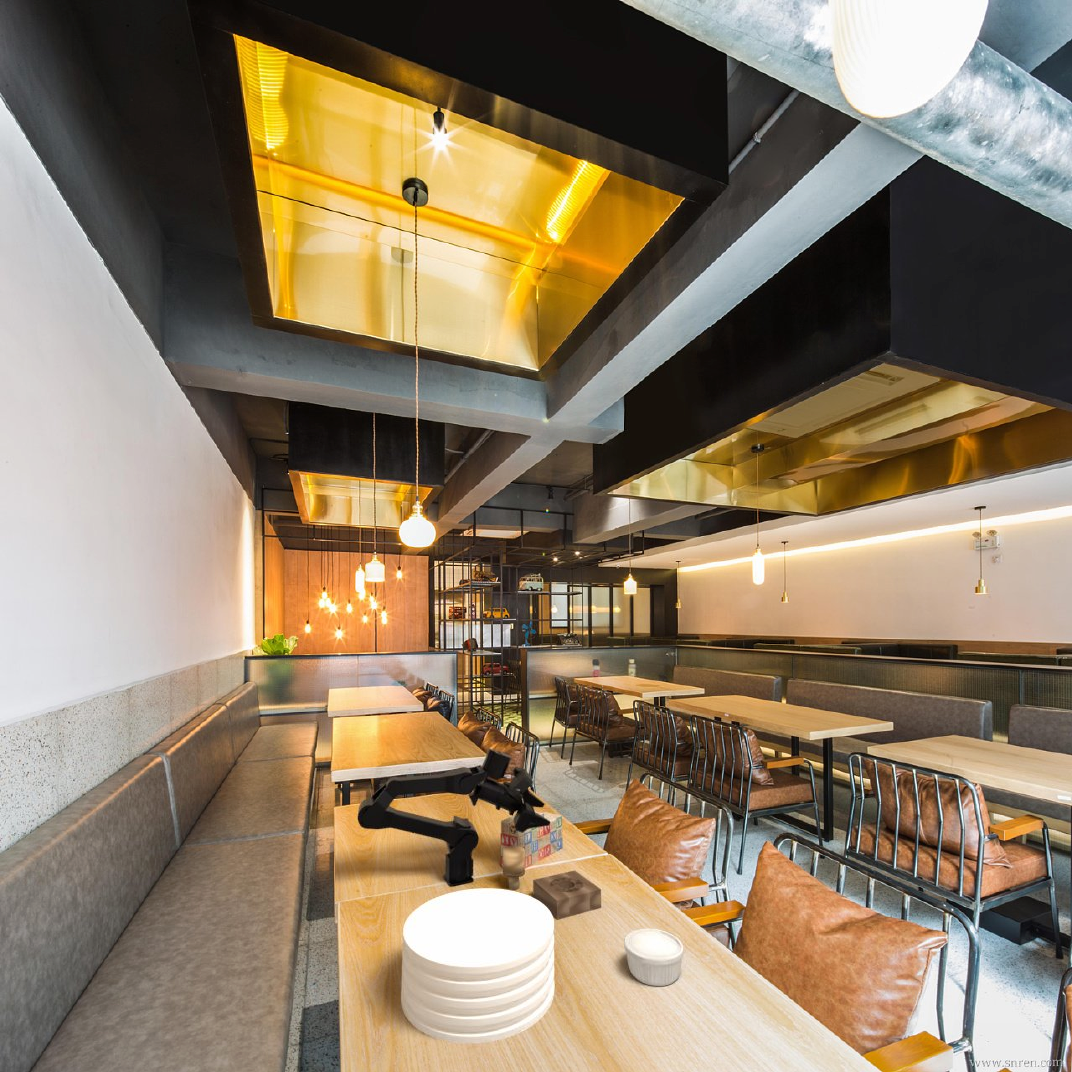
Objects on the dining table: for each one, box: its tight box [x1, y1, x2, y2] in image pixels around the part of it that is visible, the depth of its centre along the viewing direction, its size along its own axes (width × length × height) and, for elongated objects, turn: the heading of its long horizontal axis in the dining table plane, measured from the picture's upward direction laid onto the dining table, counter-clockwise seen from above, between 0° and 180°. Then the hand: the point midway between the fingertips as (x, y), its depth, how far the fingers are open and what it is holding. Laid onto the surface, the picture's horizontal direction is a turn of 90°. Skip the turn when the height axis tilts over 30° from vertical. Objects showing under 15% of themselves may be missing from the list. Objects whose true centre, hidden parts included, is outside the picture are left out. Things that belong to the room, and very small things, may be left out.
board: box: [532, 870, 602, 920], centre depth 139 cm, size 12×12×4 cm
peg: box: [502, 846, 526, 891], centre depth 147 cm, size 6×6×9 cm
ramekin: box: [623, 928, 685, 987], centre depth 111 cm, size 11×11×5 cm
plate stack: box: [400, 887, 555, 1045], centre depth 107 cm, size 28×28×12 cm
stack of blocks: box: [500, 810, 564, 869], centre depth 167 cm, size 21×6×12 cm, turn 142°
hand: (546, 814), depth 160 cm, fingers open, 9 cm apart
